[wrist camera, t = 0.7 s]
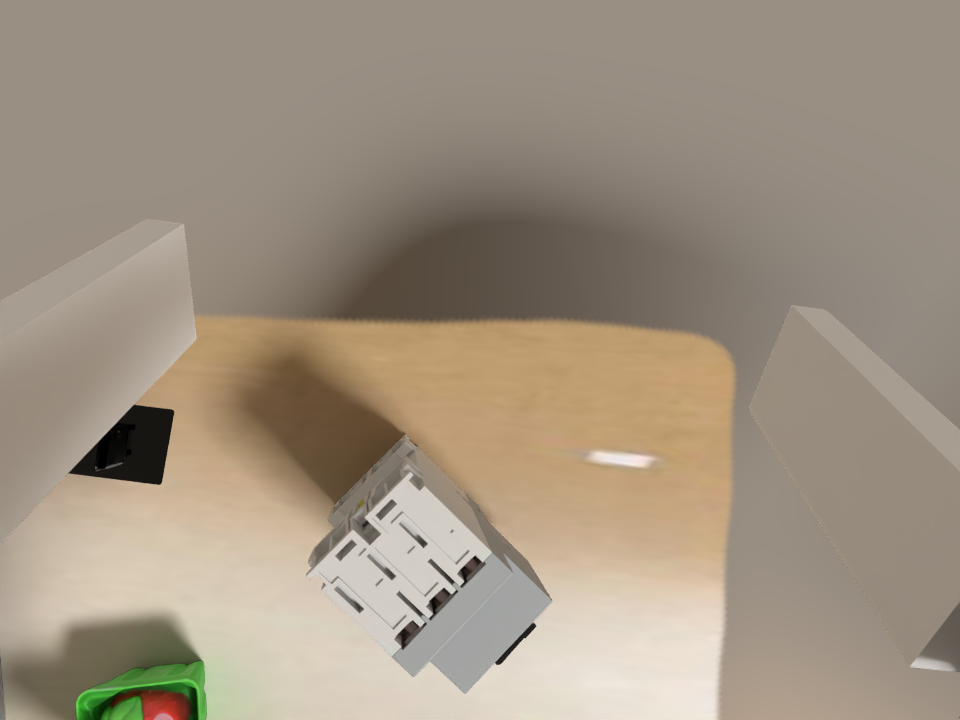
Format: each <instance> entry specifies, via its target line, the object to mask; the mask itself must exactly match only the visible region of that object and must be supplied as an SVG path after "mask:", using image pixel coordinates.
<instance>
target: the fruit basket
mask: <svg viewBox="0 0 960 720" xmlns="http://www.w3.org/2000/svg"><path fill="white" fill-rule="evenodd" d="M204 683H205V672H204V663H203V662H201V661H197V662H194V663H191V664H189V665H186V664H181V663H180V664H170V665H161V666H154V667H151V668H149V669H147V670H145V669H141V668H134V669H131V670H130V671H128V672H126V673H124V674H122V675H120V676H118V677H116V678H114V679H112V680H110V681H108V682H106V683H105V684H101V685H97V686H95V687H92V688H90V689H88V690H86V691H84V692H82V693H81V694H80V695H79V697H78V698H77V701H76V717H77V720H206V716H207V707H206V694H205V692H204Z"/></svg>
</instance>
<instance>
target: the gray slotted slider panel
mask: <svg viewBox="0 0 960 720" xmlns="http://www.w3.org/2000/svg"><path fill="white" fill-rule="evenodd" d="M0 720H5V709H4V697H3V684H2V672H1V659H0Z"/></svg>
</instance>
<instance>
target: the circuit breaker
mask: <svg viewBox="0 0 960 720" xmlns="http://www.w3.org/2000/svg"><path fill="white" fill-rule="evenodd" d="M328 521H329V522H330V523H331V525H332V526H333V527H334V529H333V530H332V531H331V532H330V533H329V534H328V535H327V536H326V537H325V538H324V539H323V540H322V541H321V542H320V543H319V544H318V545H317V546H316V547H315V548H314V549H313V552H312V554H311V556H310V558H309V561H308V564H309V565H310V566H311V567H312V568H311V569H310V570H309V571H308V572H307V574H306V577H307V578H308V579H309V580H310V579H311V578H312V577H313V576H314V575H316V576H317V577H318V578H320V579H321V580H322V581H323V582H324V583H323V586H322V589H321V591H322V592H323V593H324V594H325V595H326V596H327V597H329V598H330V599H331V600H332V601H333V602H334V603H335V604H336V605H337V606H338V607H339V608H340V609H341V610H342V611H343V612H344V613H345V614H347V615H348V616H349V617H350V618H351V619H352V620H353V621H354V622H355V623H356V624H357V625H358V626H359V627H360V628H361V629H362V630H364V631H365V632H366V633H367V634H368V635H369V636H370V637H371V638H372V639H373V640H374V641H375V642H376V643H377V644H378V645H379V646H381V647H382V648H383V649H384V650H385V651H386V652H387V653H388V654H389V655H390V656H391V657H392V658H393V659H394V660H395V661H396V662H397V663H399V664H400V665H401V666H402V667H403V668H404V669H405V670H406V671H407V672H408V673H409V674H410V675H411V676H412V677H415V676H416V675H417V674H418V673H419V672H420V671H421V670H422V669H423V667H424V666H425V665H426V664H427V663H428V662H429V661H430V662H431V663H433V664H434V665H435V666H436V667H437V668H438V669H439V670H440V671H441V672H442V673H443V674H444V675H445V676H446V677H447V678H448V679H450V680H451V681H452V682H453V683H454V684H455V685H456V686H457V687H458V688H459V689H460V690H461V691H462V692H463V693H464V694H466V693H467V692H468V691H469V689H470V688H471V687H472V686H473V685H474V684H475V683H476V682H477V681H478V680H479V679H480V678H481V677H482V676H483V675H484V674H485V673H486V671H487V670H488V669H489V668H490V667H491V666H492V665H493V664H494V663H496V664H497V665H500V664H501V663H502V662H503V661H504V660H505V659H506V658H507V657H508V655H509V654H510V653H511V652H512V651H513V650H514V649H515V647H516V646H517V645H518V644H519V643H520V642H521V641H522V640H523V639H524V638H526V637H527V636H528V635H529V634H530V633H531V632H532V631H533V630H534V628H535V627H536V625H535V624H534V623H533V622H534V621H535V619H536V618H537V617H538V616H539V615H540V614H541V613H542V612H543V611H544V610H545V609H546V608H547V607H548V606H549V605H550V604H551V603H552V599H551V598H550V596H549V594H548V593H547V591H546V589H545V588H544V586H543V585H542V583H541V581H540V580H539V578H538V576H537V575H536V573H535V572H534V570H533V568H532V567H531V565H530V564H529V562H528V561H527V560H526V559H525V558H524V557H523V556H522V555H521V554H520V553H519V552H518V551H517V550H516V549H515V548H514V547H513V546H512V545H511V544H510V543H509V542H508V541H507V540H506V539H505V538H504V537H503V536H502V535H501V534H500V533H499V532H498V531H497V530H496V529H495V528H494V527H493V526H492V525H491V524H490V523H489V522H488V521H487V520H486V518H485V517H484V515H483V514H482V511H481V509H480V507H479V506H478V505H477V504H476V503H475V502H474V501H473V500H472V499H471V498H470V497H469V496H468V495H467V494H466V493H465V492H464V491H463V490H462V489H461V488H460V487H459V486H458V485H457V484H456V483H455V482H454V481H453V480H452V479H451V478H450V477H449V476H448V475H447V474H446V473H445V472H444V471H443V470H442V469H441V468H440V467H439V466H438V465H437V464H436V463H435V462H434V461H433V460H432V459H431V458H430V457H429V456H428V455H427V454H426V453H425V452H424V451H422V450H421V449H420V448H419V447H418V446H417V447H416V446H415V445H414V444H413V443H412V442H411V441H410V440H409V437H408V436H407V435H406V434H405V435H404V436H403V437H402V438H401V439H400V440H399V441H398V442H397V443H396V444H395V445H394V446H393V447H392V448H391V449H390V450H389V451H388V452H387V453H386V454H385V455H384V456H383V457H382V458H381V459H380V460H379V461H378V462H377V463H376V464H375V465H374V466H373V467H372V468H371V469H370V470H369V471H368V472H367V473H366V474H365V475H364V476H363V477H362V478H361V479H360V480H359V481H358V482H357V483H356V484H355V485H354V486H353V487H352V488H351V489H350V490H349V491H348V492H347V493H346V494H345V495H344V496H343V497H342V498H341V499H340V500H339V501H338V502H337V503H336V504H335V507H334V508H333V509H332V511H331V514H330V516H329V518H328Z"/></svg>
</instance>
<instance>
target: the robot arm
mask: <svg viewBox="0 0 960 720" xmlns="http://www.w3.org/2000/svg"><path fill="white" fill-rule="evenodd" d="M196 339H197V336H196V327H195V318H194V309H193V301H192V293H191V284H190V275H189V266H188V257H187V248H186V240H185V231H184V224H183V223H175V222H167V221H160V220H153V219H146V220H144V221H142V222H140V223H138V224H137V225H135V226H133V227H131V228H130V229H128V230H126V231H124V232H122V233H120V234H119V235H117V236H115V237H113V238H112V239H110V240H108V241H106V242H104V243H103V244H101V245H99V246H97V247H95V248H94V249H92V250H90V251H88V252H87V253H85V254H83V255H81V256H79V257H77V258H76V259H74V260H72V261H70V262H69V263H67V264H65V265H63V266H61V267H60V268H58V269H56V270H54V271H52V272H51V273H49V274H47V275H45V276H43V277H42V278H40V279H38V280H36V281H34V282H33V283H31V284H29V285H27V286H26V287H24V288H22V289H20V290H18V291H16V292H15V293H13V294H11V295H9V296H8V297H6V298H4V299H2V300H1V301H0V544H1V543H2V541H3V540H4V539H5V538H6V537H7V536H8V535H9V534H10V533H11V532H12V531H13V530H14V529H15V528H16V527H17V526H18V525H19V524H20V523H21V522H22V521H23V520H24V519H25V518H26V516H27V515H28V514H29V513H30V512H31V511H32V510H33V509H34V508H35V507H36V506H37V505H38V504H39V503H40V502H41V501H42V500H43V499H44V498H45V497H46V496H47V495H48V494H49V493H50V491H51V490H52V489H53V488H54V487H55V486H56V485H57V484H58V483H59V482H60V481H61V480H62V479H63V478H64V477H65V476H66V475H67V474H68V473H69V472H70V471H71V470H72V469H73V468H74V466H75V465H76V464H77V463H78V462H79V461H80V460H81V459H82V458H83V457H84V456H85V455H86V454H87V453H88V452H89V451H90V450H91V449H92V448H93V447H94V446H95V445H96V444H97V443H98V441H99V440H100V439H101V438H102V437H103V436H104V435H105V434H106V433H107V432H108V431H109V430H110V429H111V428H112V427H113V426H114V425H115V424H116V423H117V422H118V421H119V420H120V419H121V418H122V416H123V415H124V414H125V413H126V412H127V411H128V410H129V409H130V408H131V407H132V406H133V405H134V404H135V403H136V402H137V401H138V400H139V399H140V398H141V397H142V396H143V395H144V394H145V393H146V391H147V390H148V389H149V388H150V387H151V386H152V385H153V384H154V383H155V382H156V381H157V380H158V379H159V378H160V377H161V376H162V375H163V374H164V373H165V372H166V371H167V370H168V369H169V368H170V366H171V365H172V364H173V363H174V362H175V361H176V360H177V359H178V358H179V357H180V356H181V355H182V354H183V353H184V352H185V351H186V350H187V349H188V348H189V347H190V346H191V345H192V344H193V343H194V341H195V340H196ZM748 410H749V412H750V413H751V415H752V417H753V418H754V420H755V421H756V423H757V424H758V426H759V428H760V429H761V431H762V432H763V434H764V436H765V437H766V439H767V440H768V442H769V444H770V445H771V446H772V448H773V450H774V451H775V453H776V455H777V456H778V458H779V459H780V461H781V462H782V464H783V466H784V467H785V469H786V470H787V472H788V474H789V475H790V477H791V479H792V480H793V482H794V483H795V485H796V486H797V488H798V490H799V491H800V493H801V494H802V496H803V497H804V499H805V501H806V502H807V504H808V505H809V507H810V509H811V510H812V512H813V514H814V515H815V517H816V518H817V520H818V521H819V523H820V525H821V526H822V528H823V529H824V531H825V532H826V534H827V536H828V537H829V539H830V541H831V542H832V544H833V545H834V547H835V549H836V550H837V551H838V553H839V555H840V556H841V558H842V559H843V561H844V563H845V564H846V566H847V568H848V569H849V571H850V572H851V574H852V575H853V577H854V579H855V580H856V582H857V583H858V585H859V587H860V588H861V590H862V591H863V593H864V594H865V596H866V598H867V599H868V601H869V603H870V604H871V606H872V607H873V609H874V611H875V612H876V614H877V615H878V617H879V618H880V620H881V622H882V623H883V625H884V626H885V628H886V630H887V631H888V633H889V634H890V636H891V638H892V639H893V641H894V642H895V644H896V645H897V647H898V649H899V650H900V652H901V653H902V655H903V657H904V658H905V660H906V661H907V663H908V664H909V666H910V667H918V668H926V669H935V670H944V671H952V672H960V430H959V429H958V428H957V427H956V426H955V425H954V424H952V423H951V422H950V421H949V420H948V419H947V418H946V417H945V416H944V415H942V414H941V413H940V412H939V411H938V410H937V409H936V408H935V407H933V406H932V405H931V404H930V403H929V402H928V401H927V400H926V399H925V398H924V397H922V396H921V395H920V394H919V393H918V392H917V391H916V390H914V389H913V388H912V387H911V386H910V385H909V384H908V383H907V382H906V381H905V380H903V379H902V378H901V377H900V376H899V375H898V374H897V373H896V372H895V371H893V370H892V369H891V368H890V367H889V366H888V365H887V364H886V363H884V362H883V361H882V360H881V359H880V358H879V357H878V356H877V355H876V354H874V353H873V352H872V351H871V350H870V349H869V348H868V347H867V346H865V345H864V344H863V343H862V342H861V341H860V340H859V339H858V338H857V337H856V336H854V335H853V334H852V333H851V332H850V331H849V330H848V329H847V328H846V327H844V326H843V325H842V324H841V323H840V322H839V321H838V320H837V319H836V318H834V317H833V316H832V315H831V314H830V313H829V312H828V311H827V310H824V309H817V308H809V307H802V306H794V305H791V308H790V310H789V313H788V315H787V317H786V320H785V322H784V324H783V327H782V329H781V332H780V334H779V337H778V339H777V341H776V344H775V346H774V349H773V351H772V353H771V356H770V358H769V361H768V363H767V365H766V368H765V370H764V373H763V375H762V377H761V380H760V382H759V384H758V387H757V389H756V392H755V394H754V396H753V399H752V401H751V404H750V406H749V408H748Z"/></svg>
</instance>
